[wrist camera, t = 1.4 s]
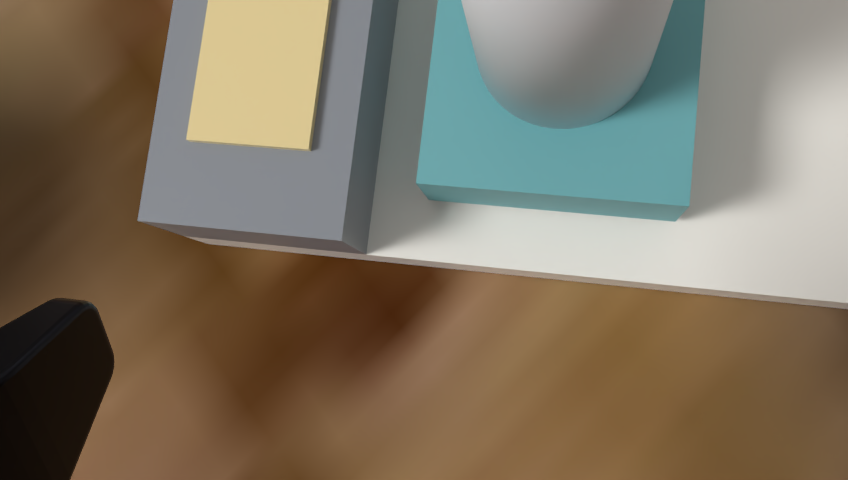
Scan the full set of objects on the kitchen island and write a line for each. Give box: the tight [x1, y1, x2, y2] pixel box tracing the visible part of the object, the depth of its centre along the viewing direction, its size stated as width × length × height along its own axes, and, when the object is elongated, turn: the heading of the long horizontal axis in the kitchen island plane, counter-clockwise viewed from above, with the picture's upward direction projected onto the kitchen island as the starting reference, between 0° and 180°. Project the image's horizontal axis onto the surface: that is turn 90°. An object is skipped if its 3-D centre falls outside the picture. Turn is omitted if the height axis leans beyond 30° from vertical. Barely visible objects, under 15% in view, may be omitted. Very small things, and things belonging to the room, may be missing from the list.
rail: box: [137, 0, 848, 309], centre depth 19 cm, size 30×10×4 cm, turn 83°
